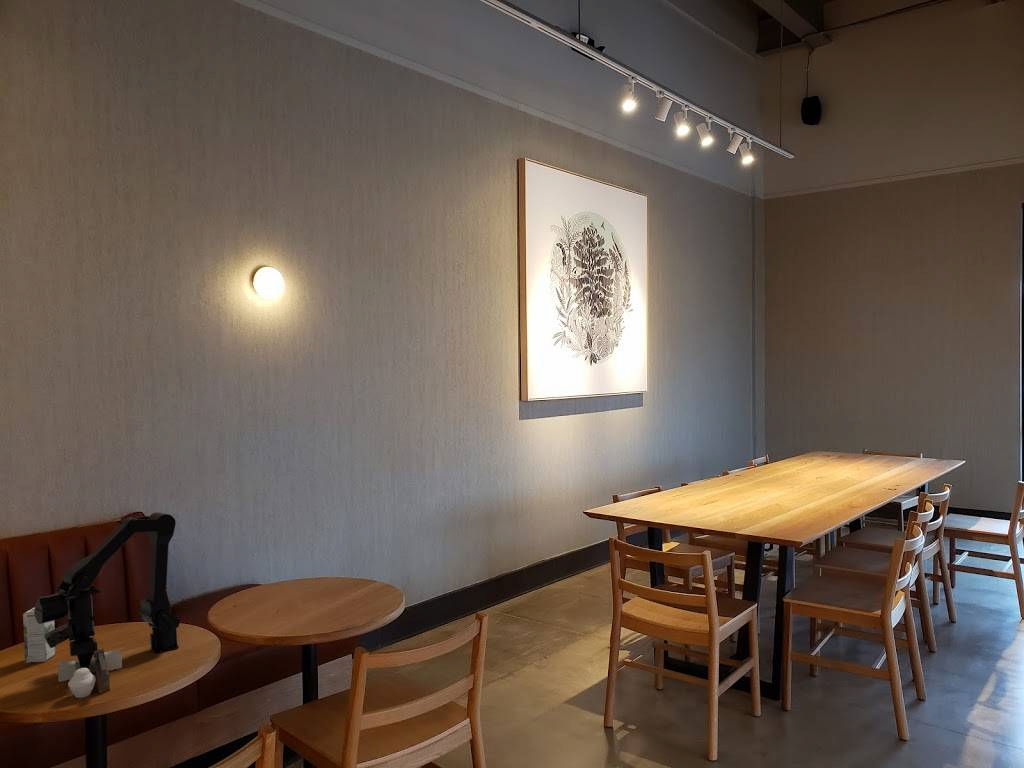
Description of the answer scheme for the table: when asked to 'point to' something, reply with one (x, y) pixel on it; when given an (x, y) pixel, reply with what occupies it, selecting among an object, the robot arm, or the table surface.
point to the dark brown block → (103, 682)
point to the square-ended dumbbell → (69, 666)
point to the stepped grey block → (101, 662)
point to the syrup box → (36, 638)
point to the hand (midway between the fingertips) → (84, 670)
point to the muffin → (82, 683)
